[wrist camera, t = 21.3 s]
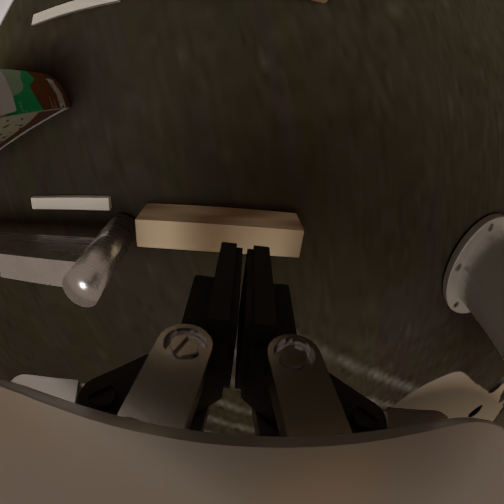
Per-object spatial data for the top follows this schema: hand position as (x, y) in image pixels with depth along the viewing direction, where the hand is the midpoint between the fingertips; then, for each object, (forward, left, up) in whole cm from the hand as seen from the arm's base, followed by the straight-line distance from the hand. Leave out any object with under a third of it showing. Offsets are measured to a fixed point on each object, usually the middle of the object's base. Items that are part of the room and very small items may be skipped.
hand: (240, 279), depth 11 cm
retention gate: (+20, +4, -11) cm, 23 cm away
